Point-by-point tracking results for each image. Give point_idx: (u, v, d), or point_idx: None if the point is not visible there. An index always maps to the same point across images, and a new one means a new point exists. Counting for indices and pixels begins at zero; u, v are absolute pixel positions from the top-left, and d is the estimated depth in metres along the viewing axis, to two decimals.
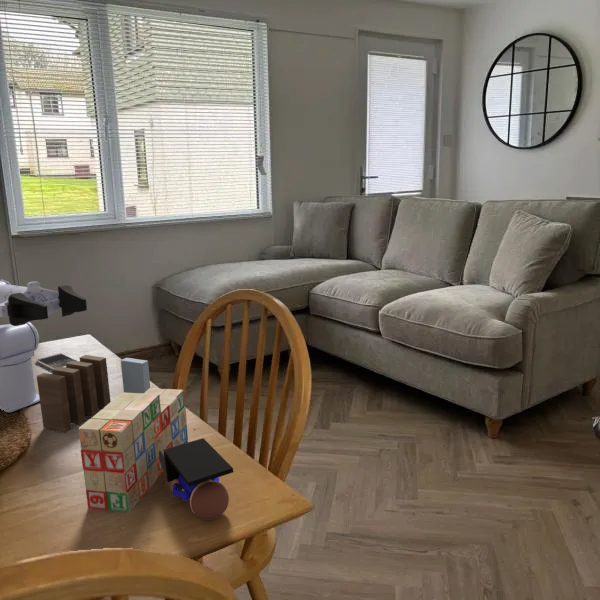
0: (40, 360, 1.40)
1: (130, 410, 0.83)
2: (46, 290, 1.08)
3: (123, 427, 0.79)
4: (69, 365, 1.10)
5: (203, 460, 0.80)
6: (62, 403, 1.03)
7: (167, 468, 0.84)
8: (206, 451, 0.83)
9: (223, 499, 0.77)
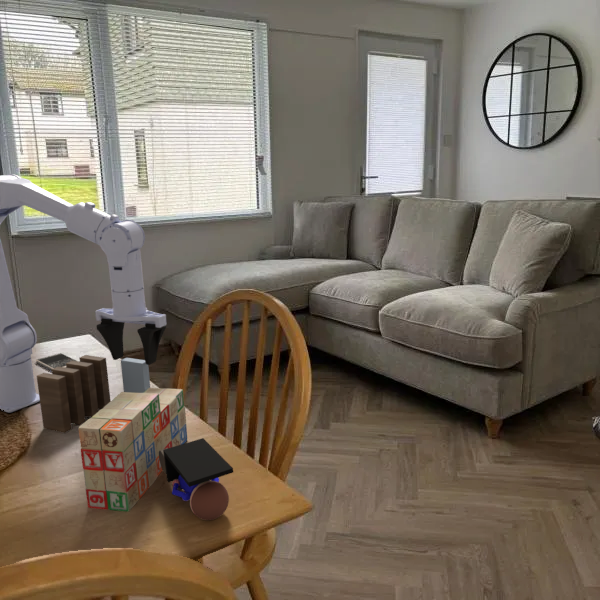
0: (40, 360, 1.40)
1: (130, 409, 0.84)
2: None
3: (122, 426, 0.79)
4: (69, 365, 1.10)
5: (203, 460, 0.80)
6: (62, 403, 1.03)
7: (167, 468, 0.84)
8: (206, 451, 0.82)
9: (223, 499, 0.77)
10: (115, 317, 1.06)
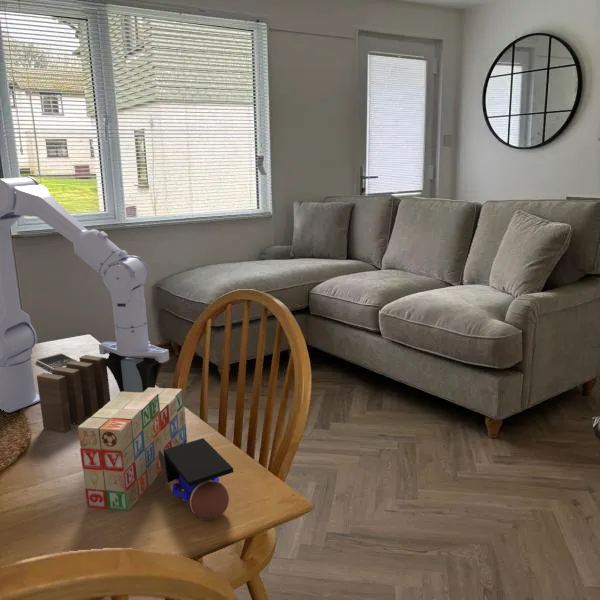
0: (40, 360, 1.40)
1: (129, 409, 0.84)
2: None
3: (122, 426, 0.79)
4: (69, 365, 1.10)
5: (203, 460, 0.80)
6: (62, 403, 1.03)
7: (167, 468, 0.84)
8: (206, 451, 0.83)
9: (223, 499, 0.77)
10: (118, 352, 1.08)
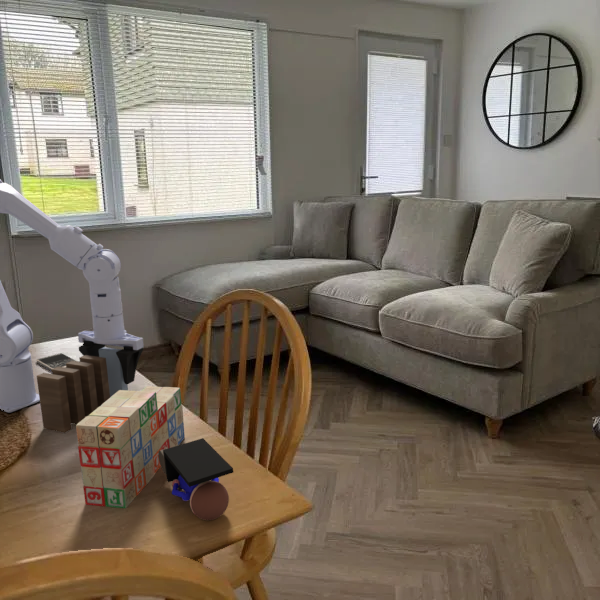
0: (40, 360, 1.40)
1: (127, 407, 0.84)
2: None
3: (120, 424, 0.80)
4: (69, 365, 1.10)
5: (203, 460, 0.80)
6: (62, 403, 1.03)
7: (167, 468, 0.84)
8: (206, 451, 0.82)
9: (223, 499, 0.77)
10: (95, 340, 1.14)
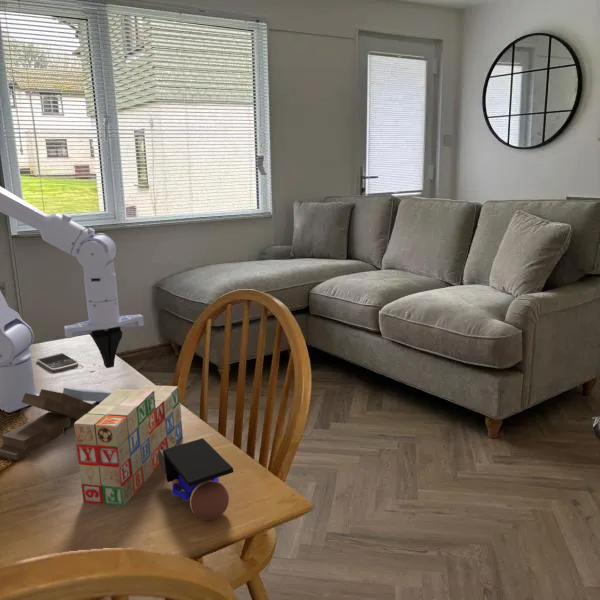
0: (40, 360, 1.40)
1: (125, 406, 0.85)
2: None
3: (117, 422, 0.80)
4: (26, 403, 1.02)
5: (203, 460, 0.80)
6: None
7: (167, 468, 0.84)
8: (206, 451, 0.82)
9: (223, 499, 0.77)
10: (104, 326, 1.12)
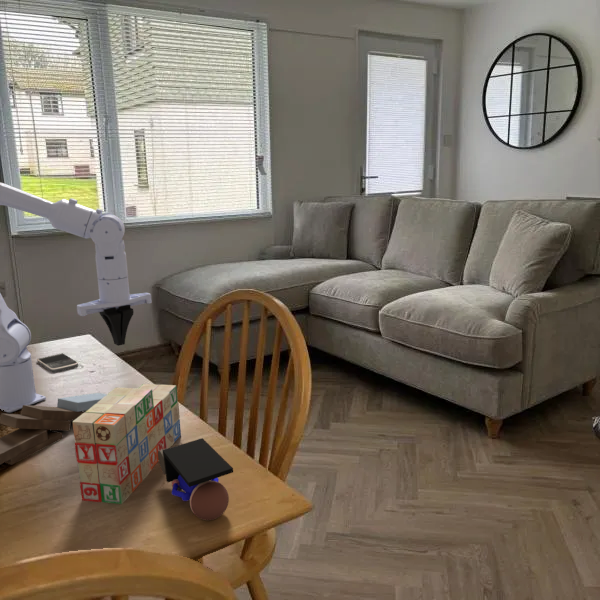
0: (41, 359, 1.40)
1: (123, 404, 0.85)
2: None
3: (116, 421, 0.81)
4: None
5: (203, 460, 0.80)
6: None
7: (166, 468, 0.84)
8: (205, 451, 0.82)
9: (223, 499, 0.77)
10: (117, 303, 1.14)
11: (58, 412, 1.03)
